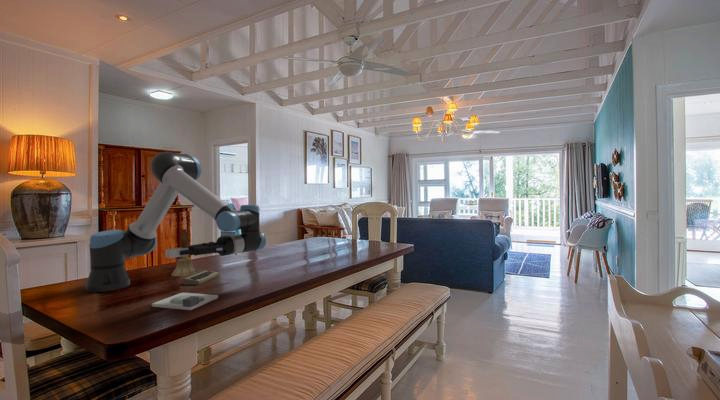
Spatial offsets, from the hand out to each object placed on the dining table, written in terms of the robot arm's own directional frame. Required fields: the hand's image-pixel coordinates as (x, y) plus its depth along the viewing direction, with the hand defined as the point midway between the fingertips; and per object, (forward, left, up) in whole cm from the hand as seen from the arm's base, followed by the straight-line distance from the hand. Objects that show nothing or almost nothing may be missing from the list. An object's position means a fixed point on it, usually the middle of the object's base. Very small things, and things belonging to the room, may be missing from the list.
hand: (167, 253), depth 122 cm
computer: (-15, +34, -19) cm, 42 cm away
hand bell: (+2, +5, -8) cm, 10 cm away
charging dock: (+2, +5, -18) cm, 19 cm away
